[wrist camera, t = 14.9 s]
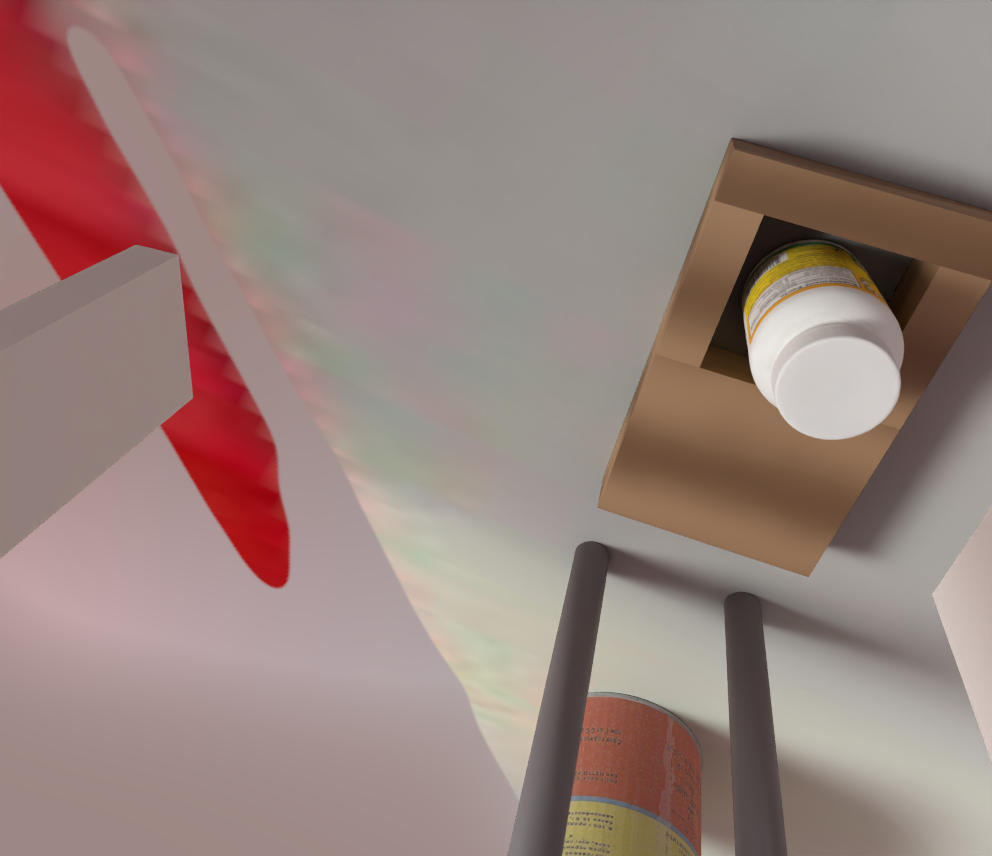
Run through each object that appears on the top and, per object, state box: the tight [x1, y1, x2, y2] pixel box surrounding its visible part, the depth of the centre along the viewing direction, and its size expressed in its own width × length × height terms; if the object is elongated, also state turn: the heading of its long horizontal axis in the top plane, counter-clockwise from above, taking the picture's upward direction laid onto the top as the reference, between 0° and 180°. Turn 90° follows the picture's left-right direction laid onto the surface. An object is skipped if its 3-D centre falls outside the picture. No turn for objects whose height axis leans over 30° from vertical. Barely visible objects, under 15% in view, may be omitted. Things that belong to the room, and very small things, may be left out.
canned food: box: [562, 692, 702, 856], centre depth 46 cm, size 11×11×12 cm
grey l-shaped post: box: [507, 542, 787, 856], centre depth 29 cm, size 12×12×26 cm
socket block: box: [597, 138, 992, 577], centre depth 34 cm, size 18×11×3 cm, turn 166°
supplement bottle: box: [742, 239, 904, 440], centre depth 29 cm, size 5×5×10 cm
